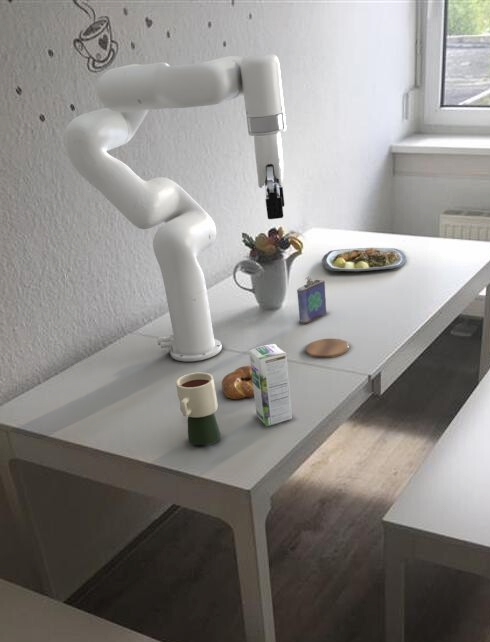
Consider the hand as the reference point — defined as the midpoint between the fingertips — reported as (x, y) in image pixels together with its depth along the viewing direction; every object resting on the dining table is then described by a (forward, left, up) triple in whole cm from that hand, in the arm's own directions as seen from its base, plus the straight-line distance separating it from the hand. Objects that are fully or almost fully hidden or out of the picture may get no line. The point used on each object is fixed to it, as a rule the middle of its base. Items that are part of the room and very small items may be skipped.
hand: (276, 212), depth 164 cm
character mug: (-15, -36, -34) cm, 52 cm away
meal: (+18, +70, -34) cm, 80 cm away
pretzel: (-9, -14, -34) cm, 37 cm away
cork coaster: (+8, +5, -33) cm, 35 cm away
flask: (+4, +26, -34) cm, 43 cm away
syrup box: (-2, -28, -34) cm, 44 cm away
